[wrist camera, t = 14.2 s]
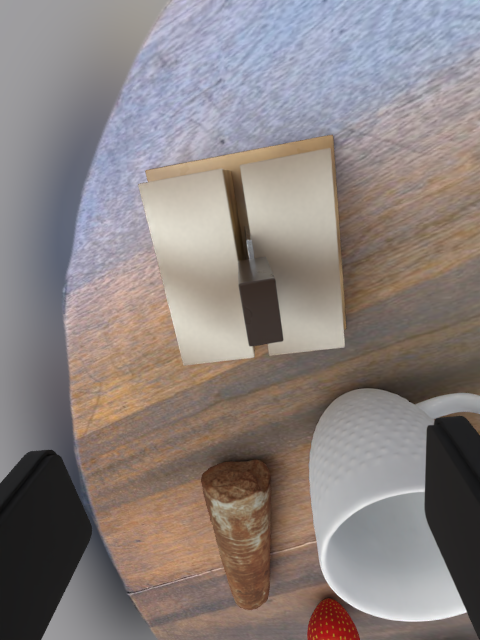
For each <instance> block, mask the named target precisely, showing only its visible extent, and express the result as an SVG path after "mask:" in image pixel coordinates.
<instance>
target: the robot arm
mask: <svg viewBox="0 0 480 640" xmlns="http://www.w3.org/2000/svg"><path fill="white" fill-rule="evenodd" d="M424 509H425V516H426V520H427V523H428V525H429V528H430V530H431V532H432V534H433V537H434V539H435V541H436V543H437V546H438V548H439V550H440V552H441V555H442V557H443V559H444V561H445V564H446V566H447V568H448V570H449V573H450V575H451V577H452V579H453V582H454V584H455V586H456V588H457V591H458V593H459V595H460V597H461V600H462V602H463V604H464V606H465V609H466V611H467V613H468V615H469V618H470V620H471V622H472V624H473V627H474V629H475V631H476V633H477V636H478V638H479V640H480V435H479V434H478V433H477V431H476V430H475V429H474V428H473V426H472V425H471V424H470V423H469V421H468V420H467V419H466V418H465V417H463V416H456V417H444V418H436V419H435V421H434V425H428V426H427V434H426V468H425V503H424ZM91 534H92V526H91V523H90V521H89V519H88V516H87V514H86V512H85V510H84V508H83V505H82V503H81V501H80V499H79V496H78V494H77V492H76V489H75V487H74V485H73V483H72V480H71V478H70V476H69V474H68V471H67V469H66V467H65V465H64V462H63V460H62V458H61V457H60V456H59V455H57V454H56V453H55V452H54V451H53V450H42V451H31V452H28V453H27V454H26V455H24V457H23V458H22V459H21V460H20V461H19V462H18V464H17V465H16V466H15V467H14V468H13V469H12V470H11V472H10V473H9V474H8V475H7V476H6V477H5V479H4V480H3V481H2V482H1V483H0V640H41V639H42V637H43V635H44V633H45V631H46V629H47V626H48V625H49V622H50V620H51V618H52V616H53V614H54V612H55V610H56V608H57V606H58V604H59V602H60V600H61V598H62V596H63V593H64V592H65V590H66V588H67V586H68V584H69V582H70V580H71V578H72V576H73V573H74V571H75V569H76V567H77V565H78V563H79V561H80V559H81V557H82V555H83V553H84V551H85V549H86V547H87V545H88V543H89V541H90V538H91Z"/></svg>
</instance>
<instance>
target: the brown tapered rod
mask: <svg viewBox="0 0 480 640" xmlns="http://www.w3.org/2000/svg"><path fill="white" fill-rule="evenodd" d="M201 482H202V487H203V493H204V497H205V501H206V505H207V509H208V512H209V515H210V520H211V522H212V524H213V528H214V532H215V537H216V542H217V544H218V548H219V552H220V556H221V559H222V563H223V566H224V569H225V572H226V575H227V579H228V583H229V586H230V589H231V592H232V595H233V597H234V600H235V602H236V604H237V605H238V606H239V607H240V608H243V609H247V610H253V609H257V608H258V607H260V606H261V605H262V604H264V603H265V602H266V601H267V599H268V595H269V588H270V581H269V578H270V537H271V535H270V521H271V475H270V472H269V470H268V468H267V466H266V465H265V464H264V462H262V461H259V460H256V459H254V460H251V461H245V462H233V461H231V462H223V463H220V464H217V465H215V466H213V467H211V468H209V469H208V470H207V471H206V472H204V473H203V475H202V478H201Z"/></svg>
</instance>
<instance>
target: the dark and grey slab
mask: <svg viewBox="0 0 480 640" xmlns="http://www.w3.org/2000/svg"><path fill="white" fill-rule="evenodd" d="M244 231H245V237H246V244H247V250H248V256H249V259H246V260H241V261H238V286H239V292H240V298H241V304H242V309H243V315H244V321H245V327H246V332H247V338H248V344H249V346H257V345H263V344H270V343H276V342H282V341H283V340H284V339H283V331H282V324H281V317H280V309H279V302H278V295H277V287H276V280H275V277H274V275H273V272H272V270H271V267H270V265H269V262H268V260H267V258H266V257H265V256H264V257H258V258H254V251H253V245H252V239H251V236H250V232H249V228H248V226H244Z"/></svg>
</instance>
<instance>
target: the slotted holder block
mask: <svg viewBox="0 0 480 640" xmlns="http://www.w3.org/2000/svg"><path fill="white" fill-rule="evenodd" d="M145 172H146V176H147V180H148V182H146V183H140V184H138V186H139V190H140V194H141V198H142V202H143V206H144V210H145V214H146V218H147V222H148V226H149V230H150V234H151V238H152V242H153V246H154V250H155V254H156V258H157V262H158V266H159V270H160V274H161V278H162V281H163V285H164V289H165V293H166V297H167V301H168V305H169V309H170V313H171V317H172V321H173V325H174V329H175V333H176V337H177V341H178V345H179V349H180V353H181V357H182V361H183V365H193V364H202V363H210V362H219V361H228V360H237V359H245V358H254V356H255V346H249V344H248V338H247V332H246V327H245V321H244V315H243V309H242V304H241V298H240V292H239V286H238V261H241V260H246V259H249V256H248V250H247V244H246V237H245V231H244V226H248V228H249V232H250V236H251V239H252V245H253V251H254V258H258V257H264V256H265V257H266V258H267V260H268V262H269V265H270V267H271V270H272V272H273V275H274V277H275V280H276V287H277V295H278V302H279V309H280V317H281V324H282V331H283V339H284V340H283V341H282V342H276V343H270V344H267V345H268V351H269V356H272V355H281V354H289V353H298V352H307V351H316V350H324V349H333V348H342V347H345V341H344V330H345V329H346V315H345V300H344V286H343V271H342V257H341V242H340V228H339V213H338V199H337V184H336V169H335V155H334V140H333V135H327V136H322V137H317V138H311V139H306V140H301V141H296V142H291V143H285V144H280V145H275V146H270V147H264V148H259V149H254V150H249V151H244V152H238V153H233V154H228V155H223V156H217V157H212V158H207V159H202V160H197V161H191V162H186V163H181V164H176V165H170V166H165V167H160V168H155V169H150V170H146V171H145Z"/></svg>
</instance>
